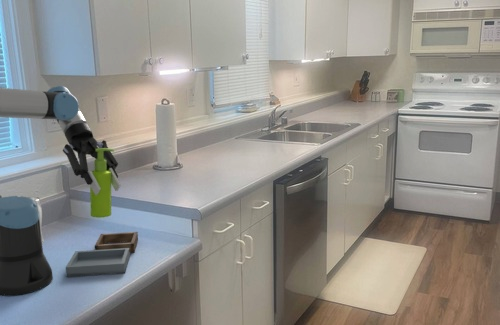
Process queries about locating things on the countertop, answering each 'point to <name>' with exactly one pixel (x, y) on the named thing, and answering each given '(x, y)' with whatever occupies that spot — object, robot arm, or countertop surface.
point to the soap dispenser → (103, 178)
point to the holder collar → (117, 241)
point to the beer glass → (38, 210)
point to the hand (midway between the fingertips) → (108, 189)
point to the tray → (98, 262)
